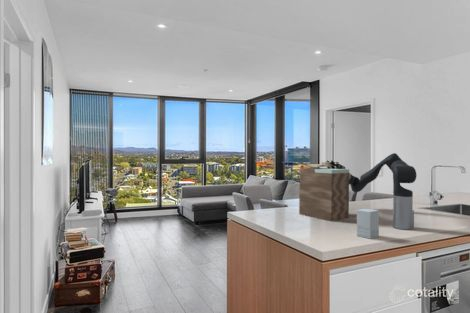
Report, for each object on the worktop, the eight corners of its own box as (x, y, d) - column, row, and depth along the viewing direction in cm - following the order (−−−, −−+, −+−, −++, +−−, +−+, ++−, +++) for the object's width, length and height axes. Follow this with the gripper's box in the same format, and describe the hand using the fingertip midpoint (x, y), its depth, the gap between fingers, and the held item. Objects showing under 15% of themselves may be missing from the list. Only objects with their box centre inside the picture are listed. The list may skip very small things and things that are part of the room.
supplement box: (379, 237, 154) (379, 210, 153) (370, 239, 149) (370, 211, 149) (365, 233, 160) (365, 208, 160) (356, 235, 155) (356, 209, 155)
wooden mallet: (330, 165, 225) (330, 161, 225) (343, 165, 216) (343, 162, 216) (304, 166, 211) (304, 162, 211) (317, 167, 202) (317, 163, 202)
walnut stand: (316, 211, 219) (316, 167, 219) (348, 218, 198) (349, 169, 197) (299, 214, 210) (299, 168, 210) (331, 221, 189) (331, 170, 189)
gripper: (336, 168, 231) (322, 156, 223) (353, 169, 219) (339, 156, 211) (333, 178, 229) (318, 166, 221) (349, 179, 217) (335, 166, 209)
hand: (328, 161), depth 216 cm, fingers closed on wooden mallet, 3 cm apart
